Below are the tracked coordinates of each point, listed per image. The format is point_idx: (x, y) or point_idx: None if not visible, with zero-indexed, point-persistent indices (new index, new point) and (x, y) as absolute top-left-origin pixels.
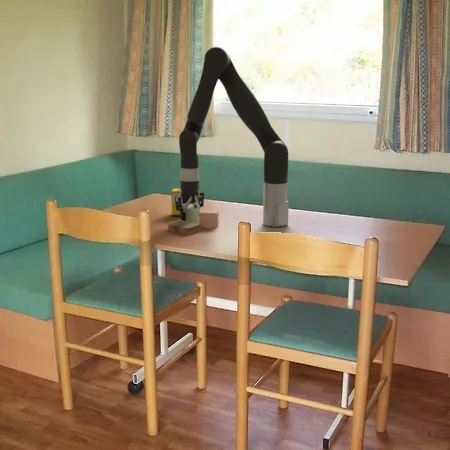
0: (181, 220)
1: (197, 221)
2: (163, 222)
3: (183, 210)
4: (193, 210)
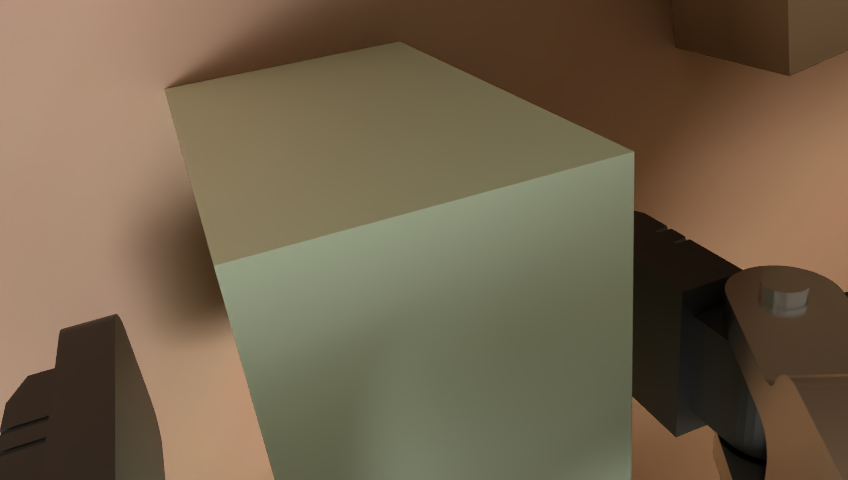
0: (810, 37)
1: (240, 85)
2: (701, 438)
3: (841, 294)
4: (574, 155)
